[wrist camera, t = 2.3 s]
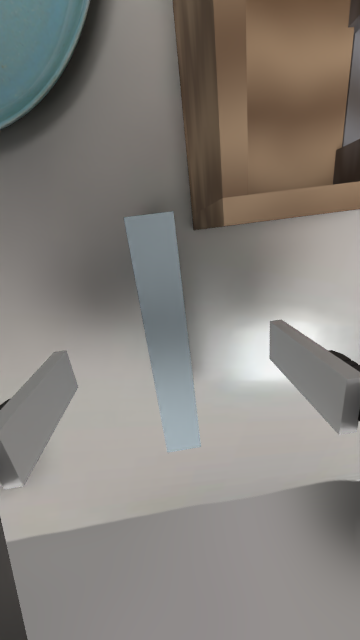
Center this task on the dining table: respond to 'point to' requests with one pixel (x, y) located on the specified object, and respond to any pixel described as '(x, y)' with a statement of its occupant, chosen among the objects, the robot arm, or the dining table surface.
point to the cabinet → (269, 107)
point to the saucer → (35, 50)
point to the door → (165, 324)
